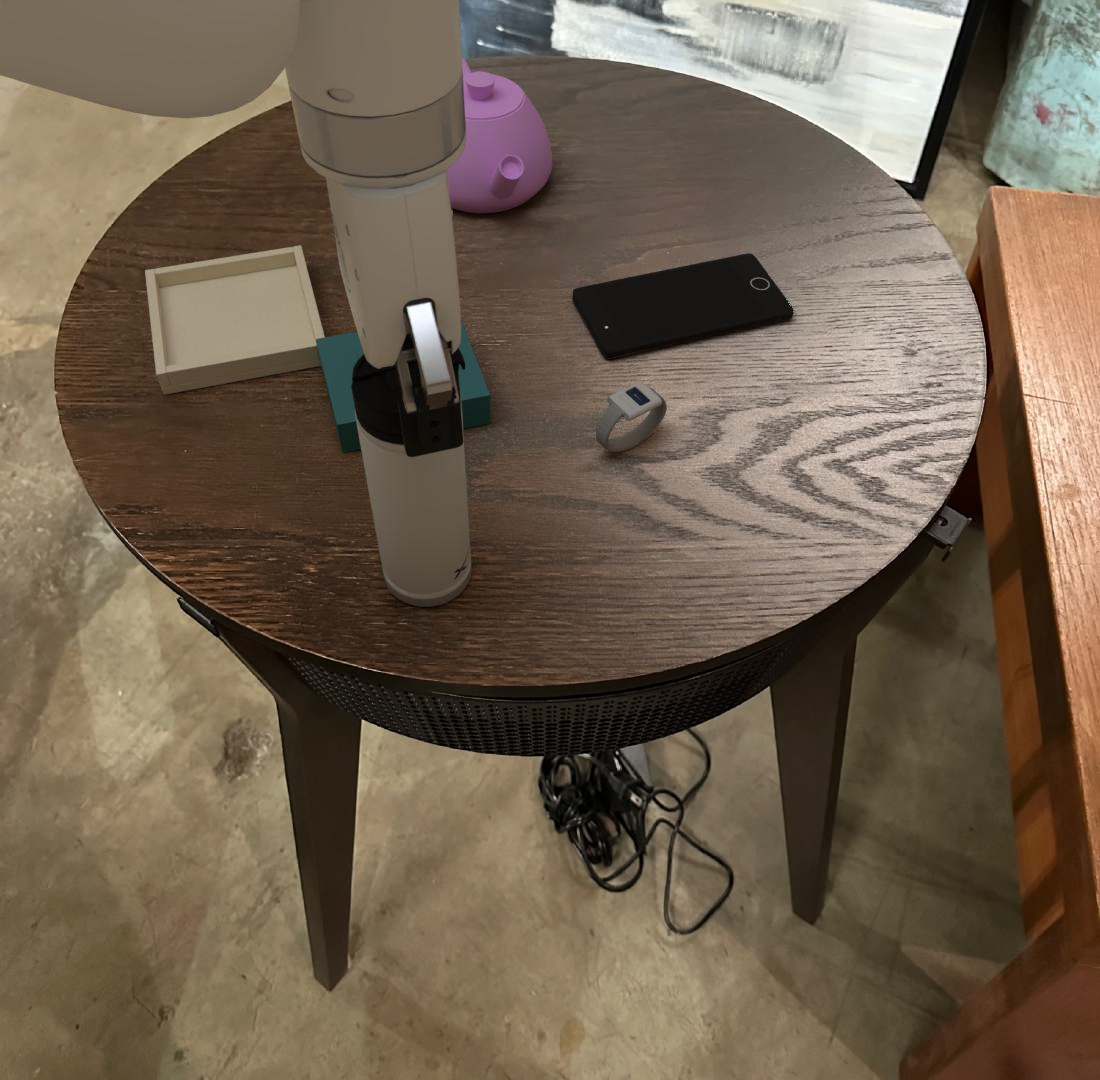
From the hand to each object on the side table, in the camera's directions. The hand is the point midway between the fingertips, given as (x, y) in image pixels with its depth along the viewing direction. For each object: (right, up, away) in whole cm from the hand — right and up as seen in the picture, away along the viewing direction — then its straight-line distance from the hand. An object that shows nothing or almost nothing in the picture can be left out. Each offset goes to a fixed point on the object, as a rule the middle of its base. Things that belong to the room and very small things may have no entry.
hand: (415, 388), depth 59 cm
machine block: (-4, +3, +25) cm, 25 cm away
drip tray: (-19, +10, +29) cm, 36 cm away
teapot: (+1, +27, +43) cm, 51 cm away
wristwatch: (+14, -1, +23) cm, 27 cm away
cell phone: (+20, +12, +32) cm, 40 cm away
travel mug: (-1, -11, +14) cm, 18 cm away
